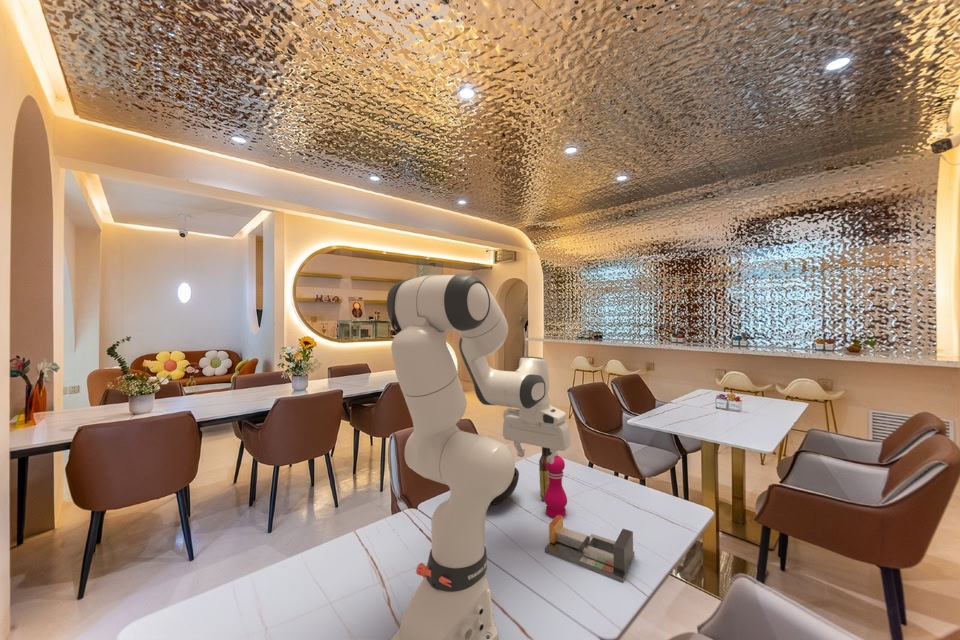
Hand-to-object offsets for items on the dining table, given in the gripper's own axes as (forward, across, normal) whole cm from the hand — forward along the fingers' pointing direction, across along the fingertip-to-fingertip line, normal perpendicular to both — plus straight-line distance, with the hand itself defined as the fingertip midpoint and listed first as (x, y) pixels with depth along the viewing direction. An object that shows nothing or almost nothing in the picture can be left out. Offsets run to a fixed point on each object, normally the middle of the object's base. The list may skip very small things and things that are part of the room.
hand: (535, 459), depth 106 cm
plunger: (+20, +11, -2) cm, 23 cm away
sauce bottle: (+23, -6, +21) cm, 32 cm away
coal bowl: (+22, -22, +8) cm, 32 cm away
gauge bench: (+22, +15, -1) cm, 26 cm away
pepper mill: (+22, 0, +13) cm, 26 cm away
